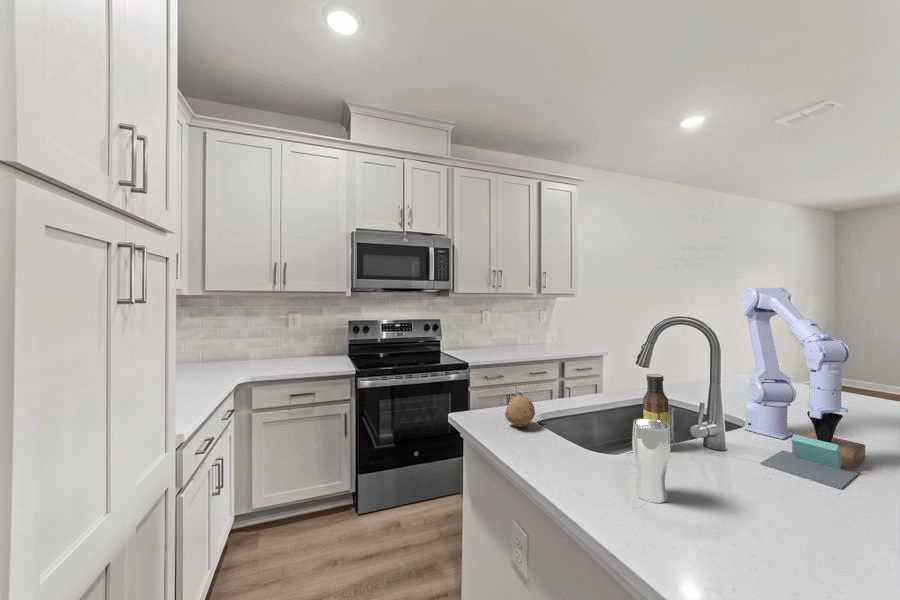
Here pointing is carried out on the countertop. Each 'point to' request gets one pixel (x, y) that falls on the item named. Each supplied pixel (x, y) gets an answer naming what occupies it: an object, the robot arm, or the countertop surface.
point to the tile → (817, 451)
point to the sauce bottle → (656, 400)
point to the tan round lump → (520, 411)
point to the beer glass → (651, 458)
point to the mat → (811, 469)
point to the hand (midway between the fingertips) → (824, 441)
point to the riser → (844, 450)
